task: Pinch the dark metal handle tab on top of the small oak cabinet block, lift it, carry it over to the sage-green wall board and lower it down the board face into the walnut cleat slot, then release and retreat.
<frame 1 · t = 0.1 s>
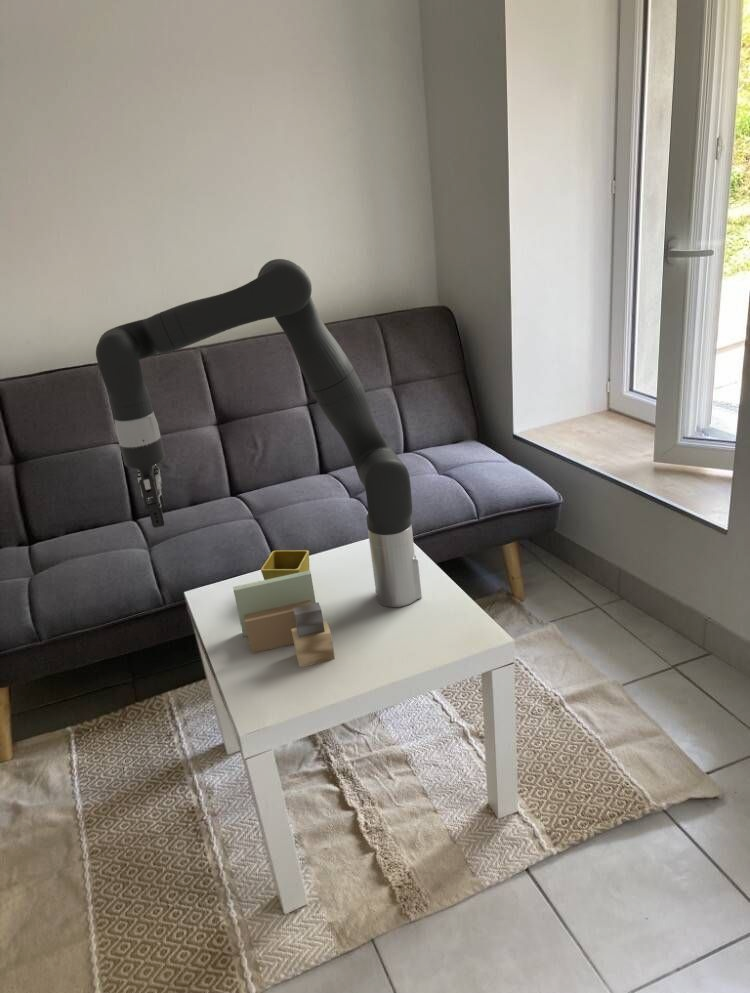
hand: (159, 517, 152), 29 cm above the table, fingers open, 8 cm apart
flower pot: (291, 595, 178), on the table
cabinet block: (315, 656, 154), on the table
wall board: (280, 625, 166), on the table
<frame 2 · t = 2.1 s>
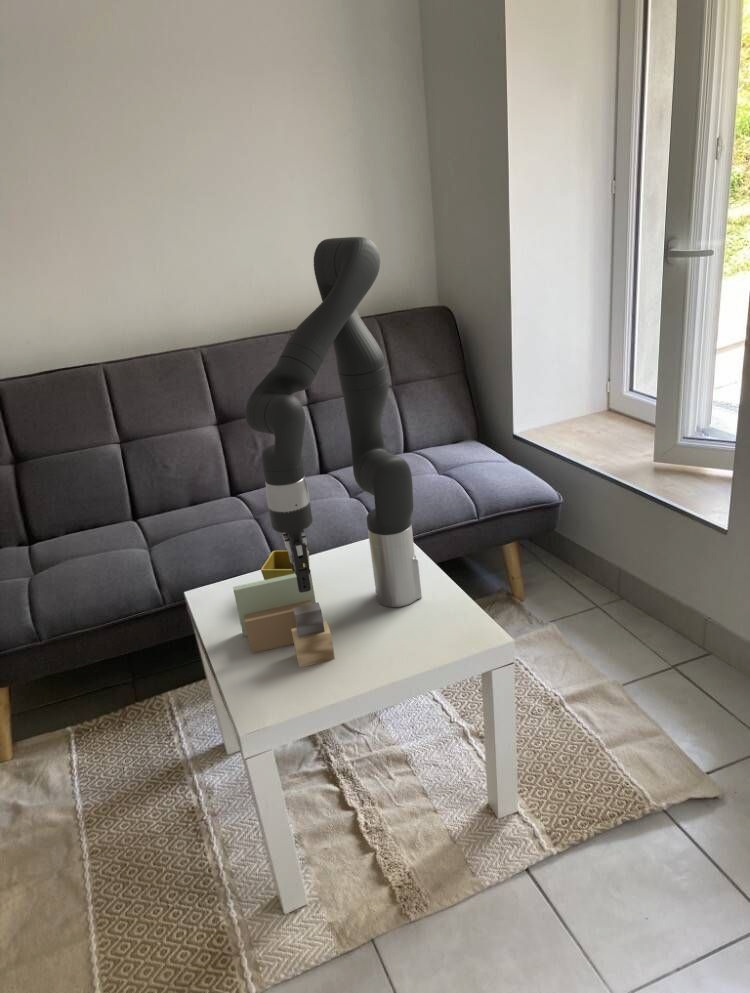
hand: (301, 580, 147), 17 cm above the table, fingers open, 8 cm apart
nothing on the table moved.
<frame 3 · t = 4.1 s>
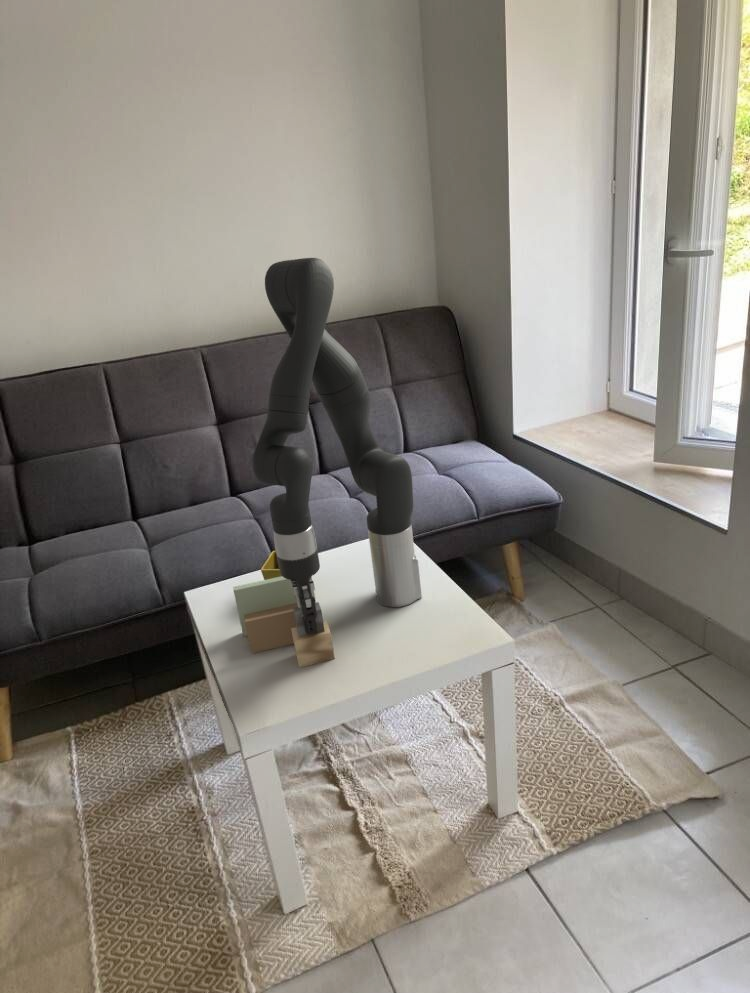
hand: (310, 627, 152), 7 cm above the table, fingers closed on cabinet block, 2 cm apart
cabinet block: (315, 656, 154), on the table, touching gripper
everything else where it was.
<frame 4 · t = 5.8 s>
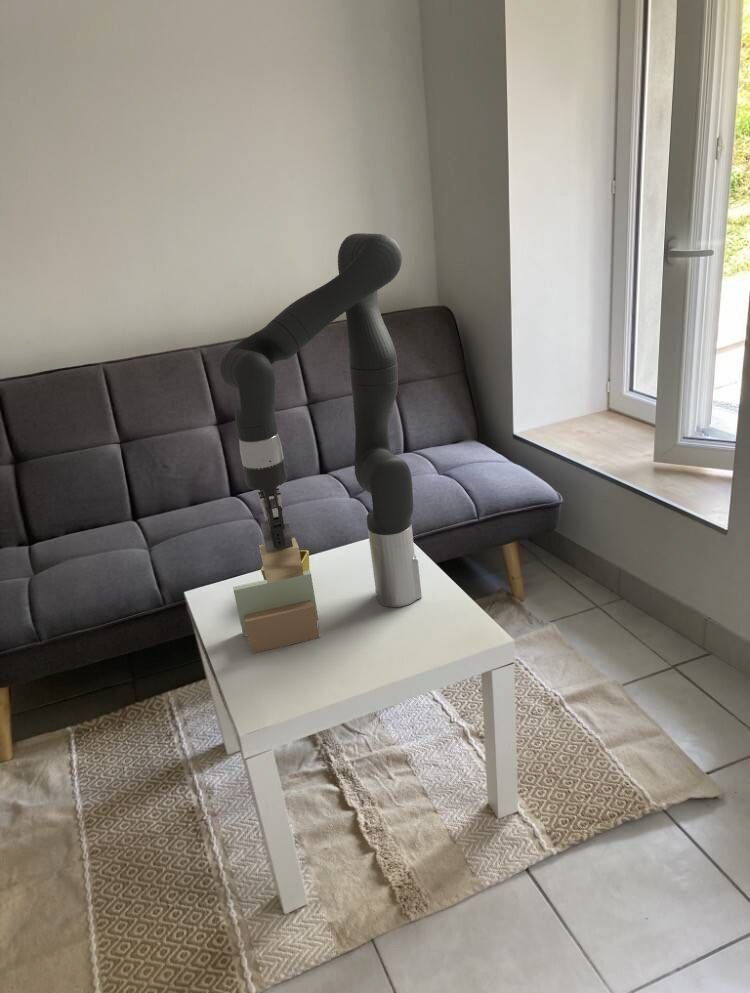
hand: (278, 543, 150), 23 cm above the table, fingers closed on cabinet block, 2 cm apart
cabinet block: (283, 573, 152), point 16 cm above the table, touching gripper
everything else where it was.
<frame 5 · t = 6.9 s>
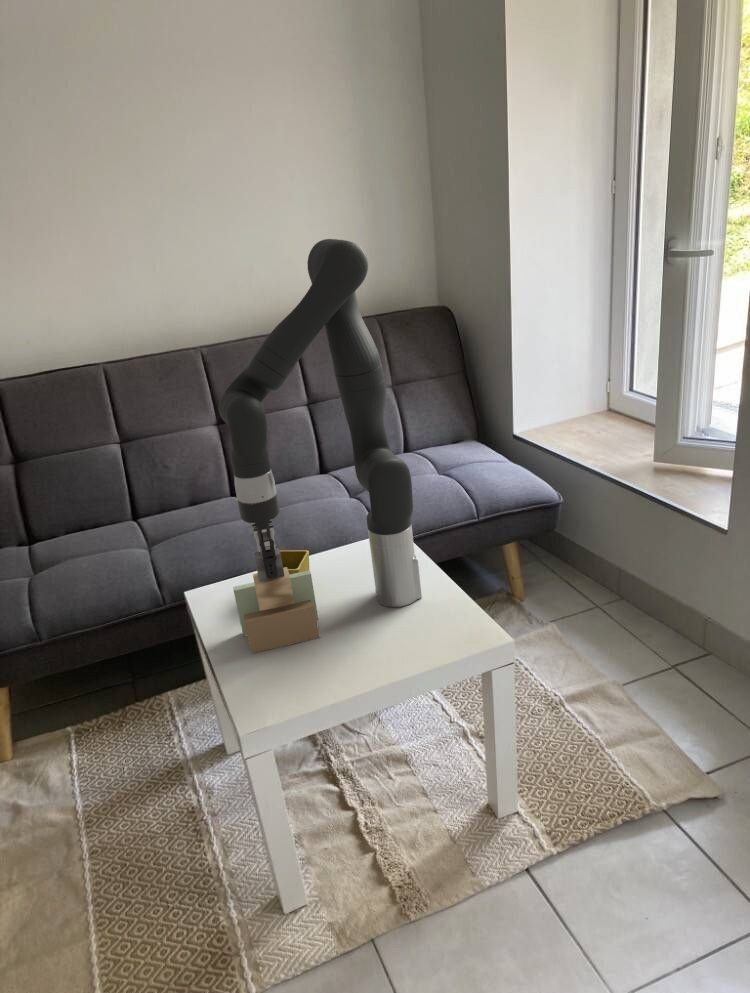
hand: (271, 572, 157), 15 cm above the table, fingers closed on cabinet block, 2 cm apart
cabinet block: (276, 601, 159), point 8 cm above the table, touching gripper
everything else where it was.
when the fingers open (12 cm above the table, at t = 7.6 s): cabinet block stays where it is, resting on wall board.
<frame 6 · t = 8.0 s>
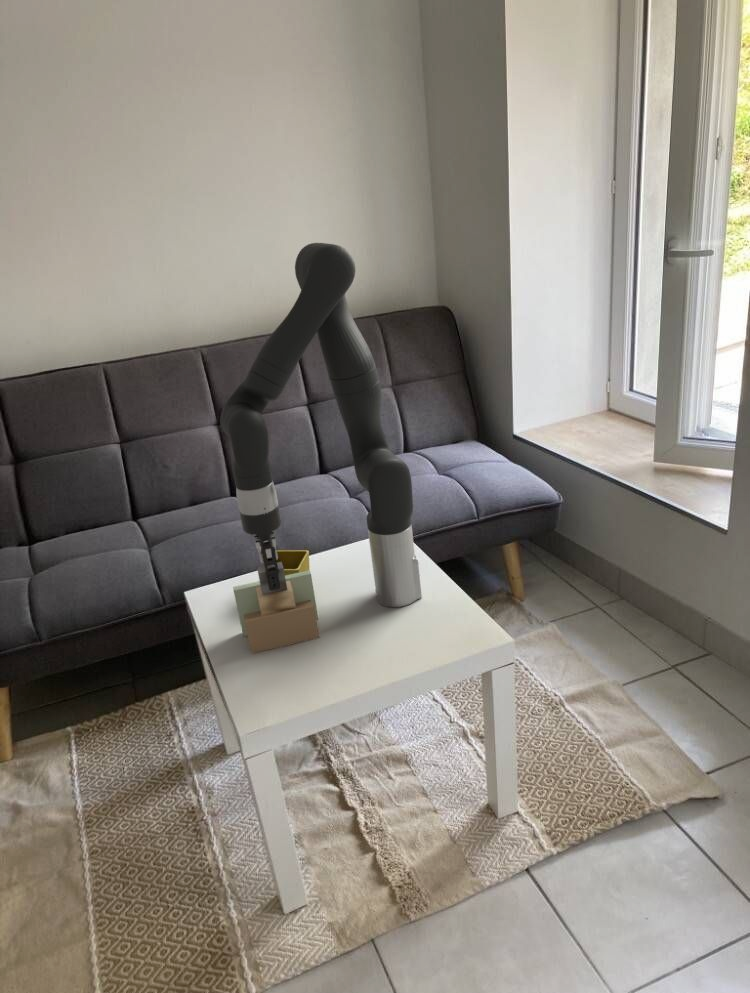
hand: (272, 580, 157), 13 cm above the table, fingers open, 6 cm apart
cabinet block: (279, 614, 160), point 5 cm above the table, touching wall board
everything else where it was.
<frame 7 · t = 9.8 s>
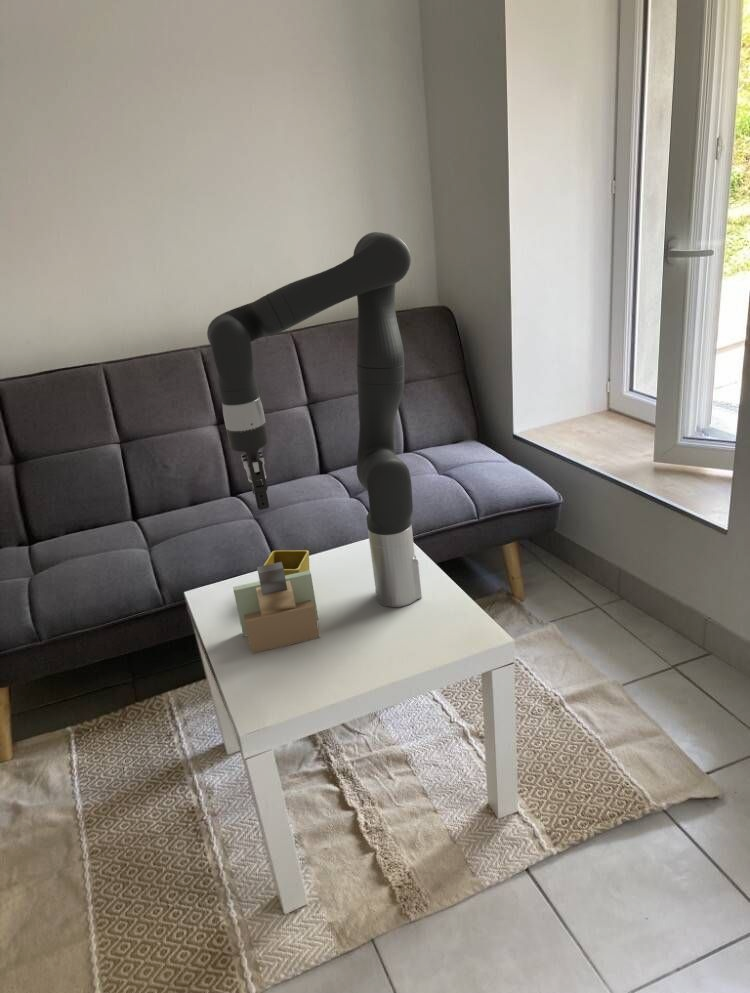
hand: (260, 500, 155), 29 cm above the table, fingers open, 8 cm apart
nothing on the table moved.
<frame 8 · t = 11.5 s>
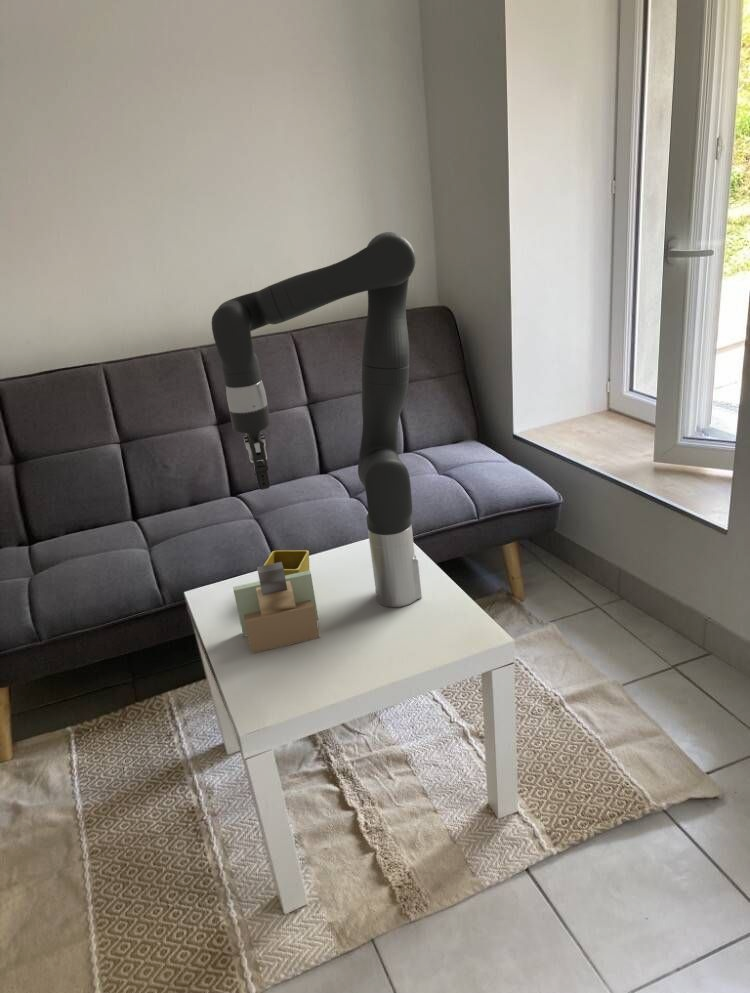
hand: (262, 481, 161), 30 cm above the table, fingers open, 8 cm apart
nothing on the table moved.
at the end: cabinet block inside the target area on the wall board (0.1 cm from its centre), point 5.0 cm above the wall board's base; cabinet block tilted 0°; the gripper is holding nothing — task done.
